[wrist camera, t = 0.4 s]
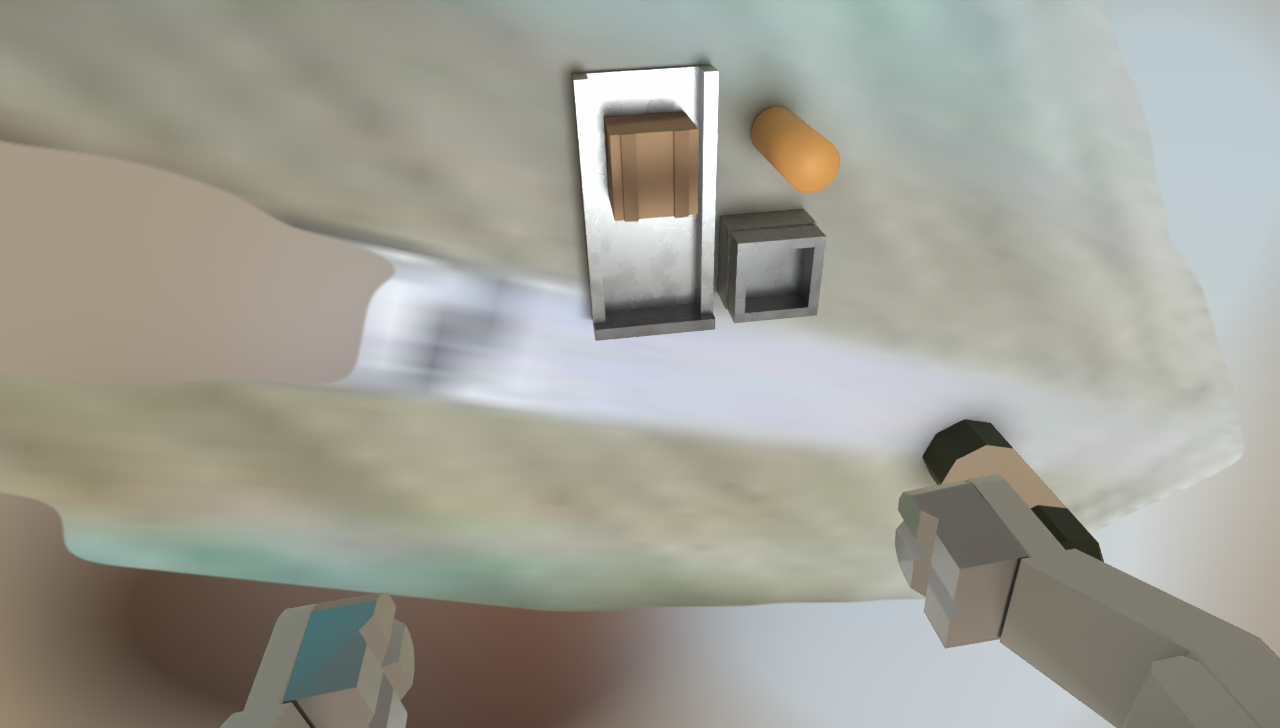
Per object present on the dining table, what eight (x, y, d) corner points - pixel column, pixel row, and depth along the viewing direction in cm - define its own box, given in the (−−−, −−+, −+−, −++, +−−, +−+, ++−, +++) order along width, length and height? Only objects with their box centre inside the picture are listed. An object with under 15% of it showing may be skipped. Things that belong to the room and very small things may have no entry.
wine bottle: (919, 485, 76) (1106, 762, 51) (925, 427, 72) (1135, 700, 47) (992, 470, 77) (1214, 739, 52) (1003, 411, 72) (1253, 676, 47)
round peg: (752, 107, 52) (788, 140, 44) (798, 104, 52) (843, 136, 45) (749, 156, 54) (784, 194, 46) (794, 152, 54) (836, 190, 47)
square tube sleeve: (720, 216, 56) (736, 242, 52) (804, 209, 57) (827, 234, 52) (718, 293, 60) (733, 324, 55) (796, 285, 61) (817, 316, 56)
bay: (572, 73, 49) (574, 83, 46) (711, 64, 50) (722, 73, 47) (592, 320, 60) (595, 340, 57) (706, 309, 61) (714, 329, 58)
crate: (603, 116, 50) (610, 135, 46) (685, 111, 51) (699, 129, 46) (608, 197, 54) (615, 223, 49) (685, 191, 54) (698, 216, 50)
